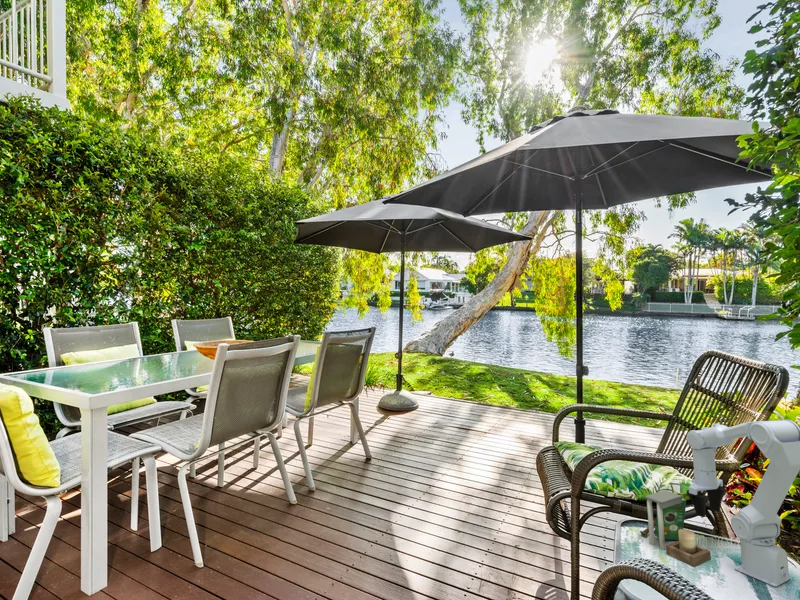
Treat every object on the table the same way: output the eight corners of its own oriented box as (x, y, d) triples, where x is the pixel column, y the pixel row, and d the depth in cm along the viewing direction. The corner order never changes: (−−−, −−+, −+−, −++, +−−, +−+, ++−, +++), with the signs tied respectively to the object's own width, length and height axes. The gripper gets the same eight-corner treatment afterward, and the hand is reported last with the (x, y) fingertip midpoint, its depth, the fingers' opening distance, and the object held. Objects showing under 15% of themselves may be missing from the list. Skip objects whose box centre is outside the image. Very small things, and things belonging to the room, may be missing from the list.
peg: (699, 558, 126) (697, 533, 126) (691, 561, 124) (689, 536, 124) (685, 551, 129) (683, 528, 130) (677, 555, 127) (675, 531, 128)
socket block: (711, 559, 125) (710, 550, 125) (694, 567, 121) (693, 557, 121) (682, 547, 132) (682, 538, 132) (666, 554, 128) (665, 545, 128)
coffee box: (676, 535, 139) (680, 495, 139) (683, 540, 136) (687, 499, 136) (653, 534, 138) (657, 494, 138) (660, 540, 135) (663, 498, 135)
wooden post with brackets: (665, 530, 141) (660, 518, 141) (649, 545, 138) (644, 532, 138) (660, 528, 143) (655, 516, 142) (644, 542, 140) (639, 530, 140)
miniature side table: (685, 543, 134) (681, 495, 135) (665, 551, 130) (661, 502, 131) (668, 536, 139) (664, 490, 140) (648, 543, 135) (644, 496, 136)
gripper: (704, 461, 141) (708, 503, 140) (677, 469, 135) (680, 513, 134) (728, 467, 135) (732, 511, 134) (701, 475, 129) (704, 522, 128)
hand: (708, 513), depth 134 cm, fingers open, 7 cm apart
